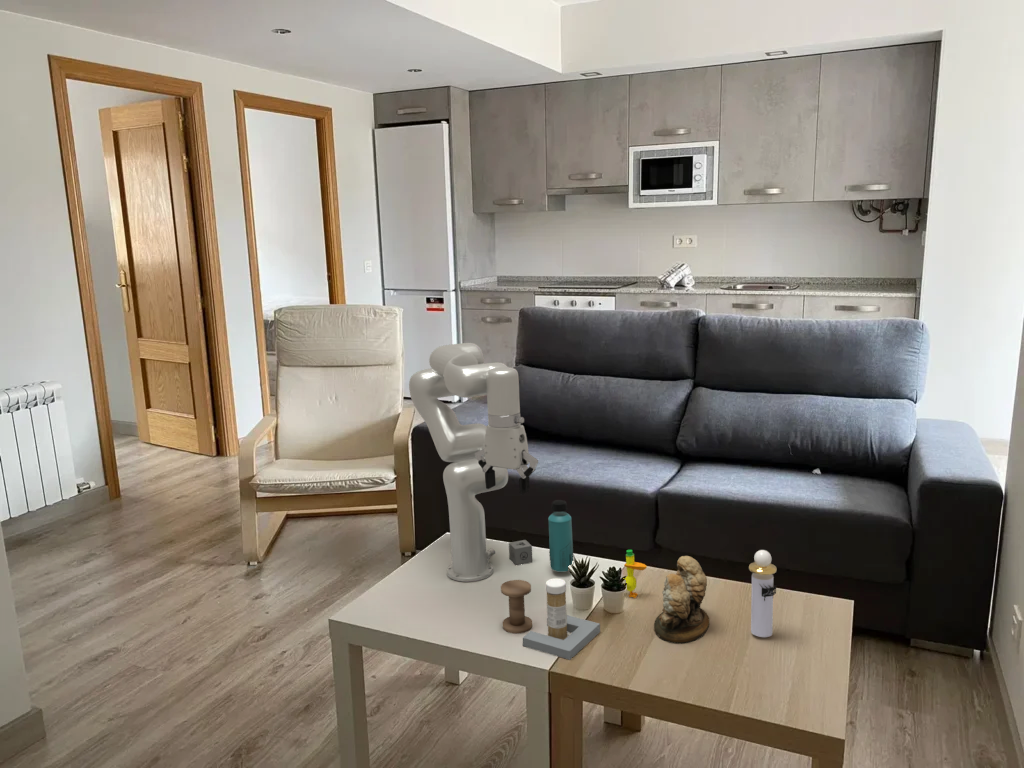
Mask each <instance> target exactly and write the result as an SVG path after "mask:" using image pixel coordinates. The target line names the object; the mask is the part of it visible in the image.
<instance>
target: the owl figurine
mask: <svg viewBox="0 0 1024 768" xmlns="http://www.w3.org/2000/svg"><path fill="white" fill-rule="evenodd" d="M676 567H677V571H676V573H669V574H667V575H666V576H665V579H664V582H663V583H664V585H663V586H664V587H663V590H662V601H663V604H662V606H663V608H662V612H660V614H658V616H657V617H656V618H655V620H654V623H653V630H654V632H655V635H656V636H658V638H659V639H661V640H662V641H665V642H668V643H672V644H682V645H683V644H690V643H693V642H695V641H696V640H697V641H698V640H699V639H700V638H702V637H703V636H704V635H705V634H706V633H707V631H708V629H709V627H710V617H709V614H708V613H707V612H706V611H705V610H703V608H701V605H702V603H703V601H704V599H705V597H706V591H707V585H708V579H707V575H706V574H705V572H704V571H703V569H702V567H701V565H700V563H699V562H698V560H696V559H695V558H693V557H692V556H689V555H681V556H680V557H679V558H678V560H677V562H676Z"/></svg>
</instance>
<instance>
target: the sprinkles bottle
mask: <svg viewBox="0 0 1024 768" xmlns="http://www.w3.org/2000/svg"><path fill="white" fill-rule="evenodd" d="M566 582H567V581H565V580H564V579H563V578H550V579H548V580H546V582H545V592H546V613H547V614H546V615H547V618H546V621H547V620H548V626H547V636H551V637H554V638H558V639H562V640H564V639H565V638H567V637H568V636H569V635H568V631H567V615H568V614H567V600H566V598H567V597H566V592H567V583H566Z"/></svg>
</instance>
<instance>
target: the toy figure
mask: <svg viewBox="0 0 1024 768" xmlns="http://www.w3.org/2000/svg"><path fill="white" fill-rule="evenodd" d="M623 566H624V567H625V568H626V573H627V575H626V577H625V578H624V579H625V580H626V583H627V589H626V590H627V592H629V594H628V596H629V598H631V597H633V598H632V599H637V597H638V595H639V594H638V593H636V592H634V591H635V590H636V589H637V578H636V577H635V576H634V572H635V570H636V571H637V570H638V571H644V570H646V569H647V567H648V566H647V565H646V564H645V563H642V562H637V561H635V553H633V549H627V550H626V554H625V563H624V565H623Z"/></svg>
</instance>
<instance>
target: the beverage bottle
mask: <svg viewBox="0 0 1024 768" xmlns="http://www.w3.org/2000/svg"><path fill="white" fill-rule="evenodd" d="M567 505H568V504H567V501H566V500H562V499H555V500H553V501H551V511H553V512H552V513H551V514H550V515H549V516H548V518H547V519H548V536H549V538H548V545H549V550H548V552H549V554H548V555H549V564H550V565H549V567H550V569H551V570H552V571H555V572H558V573H562V572H563V573H564V572H569V571H568V566H569V565H571V564H572V561H574V557H575V556H574V548H573V547H574V543H573V542H574V541H573V537H574V536H573V527H572V526H573V525H572V516H571V514H569V513H567V512H566V511H567V510H568V506H567Z"/></svg>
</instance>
